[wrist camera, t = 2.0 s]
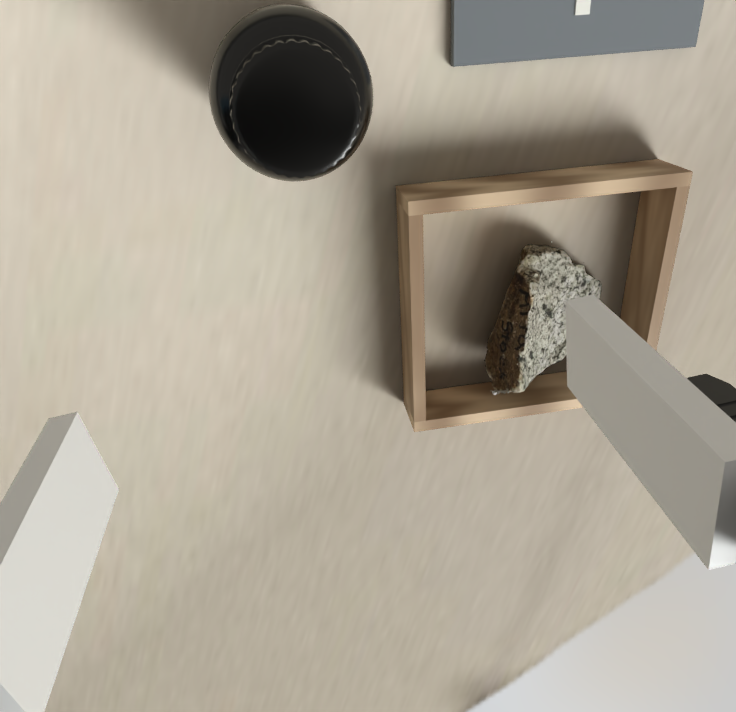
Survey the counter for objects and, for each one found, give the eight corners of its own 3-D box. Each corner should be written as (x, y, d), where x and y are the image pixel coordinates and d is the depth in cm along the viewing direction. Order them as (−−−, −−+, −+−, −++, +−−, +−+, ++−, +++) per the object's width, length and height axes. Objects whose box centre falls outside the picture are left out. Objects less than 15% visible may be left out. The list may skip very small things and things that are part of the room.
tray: (403, 403, 44) (414, 432, 41) (395, 185, 36) (408, 201, 33) (620, 372, 45) (646, 398, 42) (658, 159, 38) (692, 171, 35)
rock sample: (624, 393, 41) (590, 410, 34) (517, 386, 46) (466, 399, 39) (628, 240, 41) (593, 224, 34) (518, 247, 45) (467, 235, 38)
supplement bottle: (214, 1, 30) (190, -5, 20) (350, 7, 31) (396, 4, 21) (225, 146, 33) (210, 206, 23) (348, 146, 34) (387, 204, 24)
